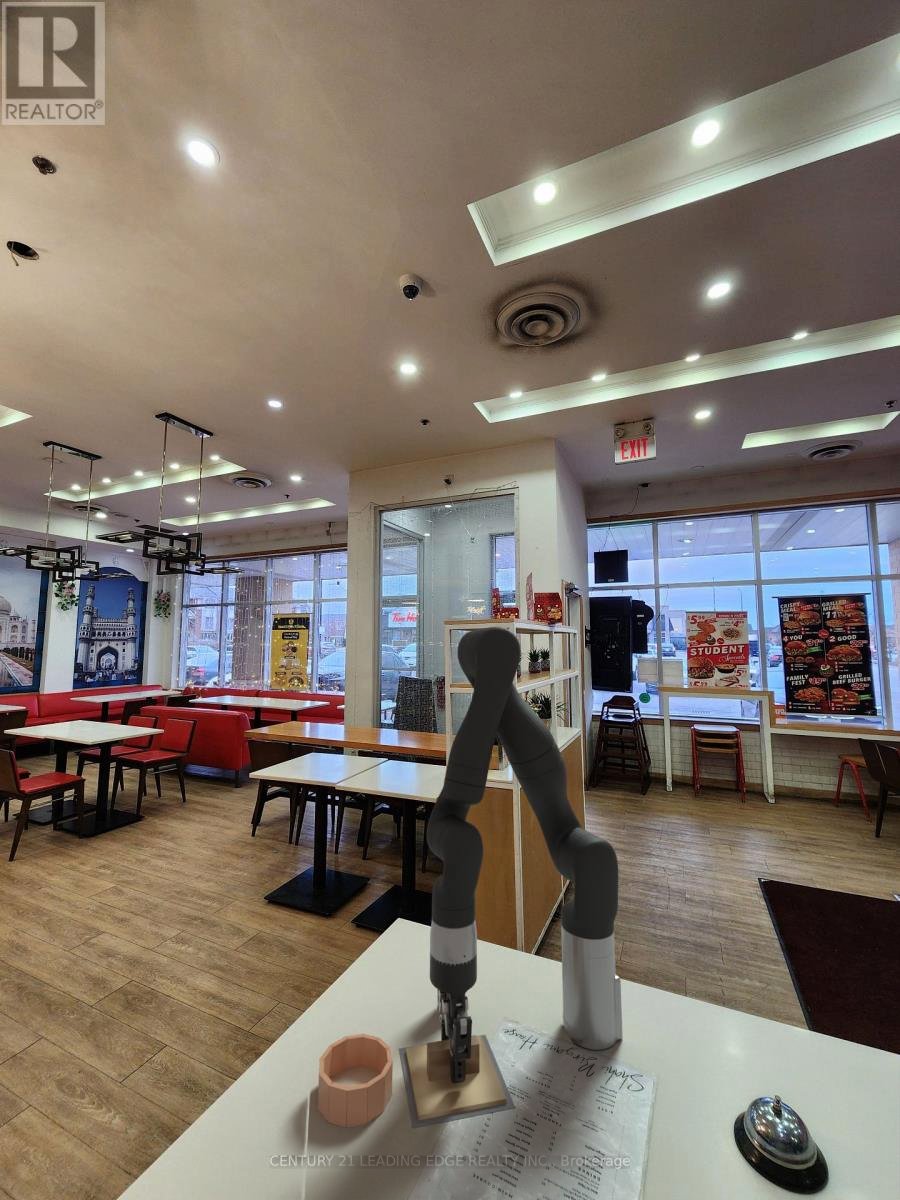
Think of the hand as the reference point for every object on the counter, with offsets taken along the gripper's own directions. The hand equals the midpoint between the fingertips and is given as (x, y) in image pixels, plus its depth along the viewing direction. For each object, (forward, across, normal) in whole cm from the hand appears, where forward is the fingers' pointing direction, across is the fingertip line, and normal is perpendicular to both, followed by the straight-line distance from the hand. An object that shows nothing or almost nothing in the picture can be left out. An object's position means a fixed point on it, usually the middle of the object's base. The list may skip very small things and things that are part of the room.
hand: (452, 1063), depth 79 cm
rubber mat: (+2, 0, 0) cm, 2 cm away
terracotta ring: (+2, 0, +15) cm, 15 cm away
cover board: (+2, 0, 0) cm, 2 cm away
